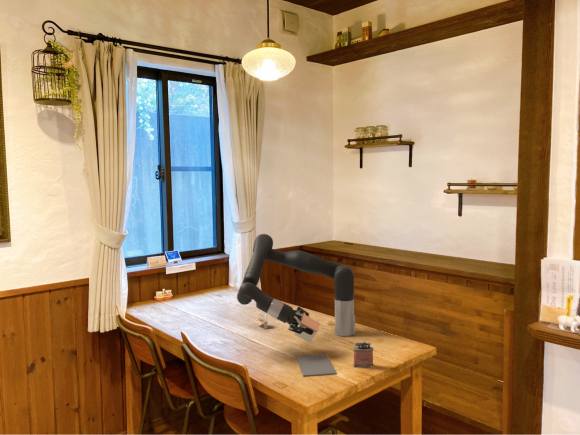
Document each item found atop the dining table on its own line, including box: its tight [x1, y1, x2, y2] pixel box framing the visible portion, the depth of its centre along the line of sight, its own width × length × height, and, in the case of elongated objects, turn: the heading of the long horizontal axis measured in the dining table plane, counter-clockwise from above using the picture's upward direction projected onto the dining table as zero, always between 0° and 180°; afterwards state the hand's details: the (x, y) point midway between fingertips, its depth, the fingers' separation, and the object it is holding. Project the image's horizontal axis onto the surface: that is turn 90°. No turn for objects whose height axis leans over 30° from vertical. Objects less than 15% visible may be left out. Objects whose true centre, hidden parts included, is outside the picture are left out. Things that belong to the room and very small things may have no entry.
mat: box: [295, 353, 337, 377], centre depth 181 cm, size 13×19×1 cm
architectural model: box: [254, 312, 268, 330], centre depth 228 cm, size 3×7×7 cm, turn 33°
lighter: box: [352, 340, 374, 368], centre depth 179 cm, size 8×3×10 cm, turn 92°
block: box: [293, 314, 321, 344], centre depth 193 cm, size 8×6×8 cm
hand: (314, 328), depth 192 cm, fingers closed on block, 5 cm apart
